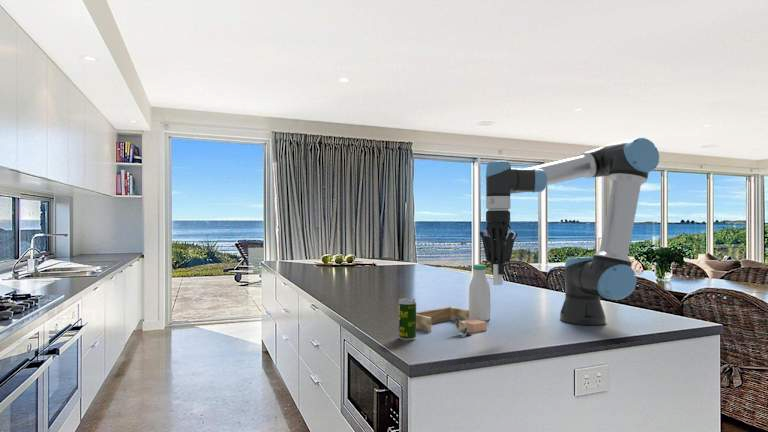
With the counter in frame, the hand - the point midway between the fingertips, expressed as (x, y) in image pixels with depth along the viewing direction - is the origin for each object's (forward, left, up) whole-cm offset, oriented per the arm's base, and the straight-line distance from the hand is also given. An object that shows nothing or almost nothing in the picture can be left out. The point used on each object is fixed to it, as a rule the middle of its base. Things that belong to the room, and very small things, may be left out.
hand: (497, 284), depth 146 cm
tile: (+10, 0, -16) cm, 19 cm away
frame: (+21, +4, -16) cm, 27 cm away
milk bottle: (+19, -14, -16) cm, 29 cm away
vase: (+8, +8, -16) cm, 20 cm away
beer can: (+15, +25, -16) cm, 33 cm away
